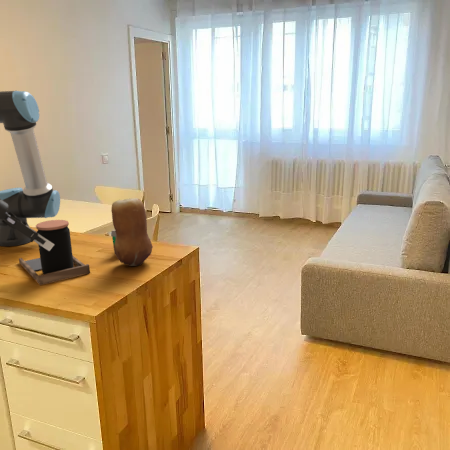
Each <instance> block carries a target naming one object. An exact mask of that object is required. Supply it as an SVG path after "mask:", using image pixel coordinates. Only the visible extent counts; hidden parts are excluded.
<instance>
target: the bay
mask: <svg viewBox="0 0 450 450" xmlns="http://www.w3.org/2000/svg"><path fill="white" fill-rule="evenodd" d="M18 260H19V264H20V265H21V266H22V267H23V269H24V270H26V272H27V273H28V274H29V276H31V278H33V279H34V281H36V282H37V284H39V286H42V285H46V284H51V283H55V282H59V281H62V280H63V281H64V280H67V279H73V278H75V277H79V276H83V275H87V274H88V275H89V274H91V269H90V268H91V267H90V265H89V264H88V263H87V264H84V263H83V262H82V261H81V260H79V259H78V258H77V257H75V255H73V263H74V265H75V266H74V267H73V268H69V269H65V270H61V271H56V272H52V273H48V274H43V273H42V274H38V273H37V271H34V270H33V269H32V268H31V267H30V266H29V265H28V264H27V263H26V262H25V261H26V260H24V259H23V258H22V257H20V258H18Z"/></svg>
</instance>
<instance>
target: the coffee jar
mask: <svg viewBox="0 0 450 450" xmlns="http://www.w3.org/2000/svg"><path fill="white" fill-rule="evenodd" d="M35 228H36V230H37V231H36V232H37V233H38V234H39V235H41V236H42V237H44V238H45V239H47V240H48V241H50V242H51V243H53V244H54V246H53V247H52V249H51V250H50V251H48V250H47V249H45V248H44V247H42V246H40V245H39V244H38V251H39V258H40V260H41V267H42V270H41V271H42V275H43V274H48V273H52V272H56V271H61V270H65V269H69V268H73V267H75V264H74V263H73V256H74V255H73V247H72V240H71V239H72V238H71V233H70V231H71V230H70V228H69V221H68V220H66V219H65V220H64V219H52V220H46V221H40V222H39V223H37V224H36V225H35Z"/></svg>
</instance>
